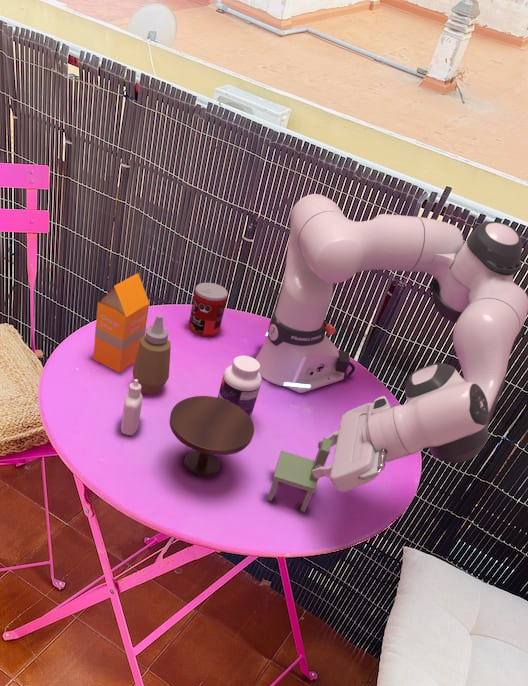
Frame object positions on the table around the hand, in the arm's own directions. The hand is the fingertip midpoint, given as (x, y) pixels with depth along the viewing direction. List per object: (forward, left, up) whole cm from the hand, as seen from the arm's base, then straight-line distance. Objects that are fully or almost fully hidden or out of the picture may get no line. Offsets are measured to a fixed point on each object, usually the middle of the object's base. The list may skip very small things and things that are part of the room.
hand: (316, 459), depth 127 cm
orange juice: (+20, -51, -10) cm, 56 cm away
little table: (+16, -13, -10) cm, 23 cm away
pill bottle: (+3, -25, -10) cm, 27 cm away
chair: (+2, -2, -10) cm, 10 cm away
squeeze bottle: (+17, -39, -10) cm, 44 cm away
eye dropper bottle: (+26, -27, -10) cm, 39 cm away
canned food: (-6, -59, -10) cm, 61 cm away
